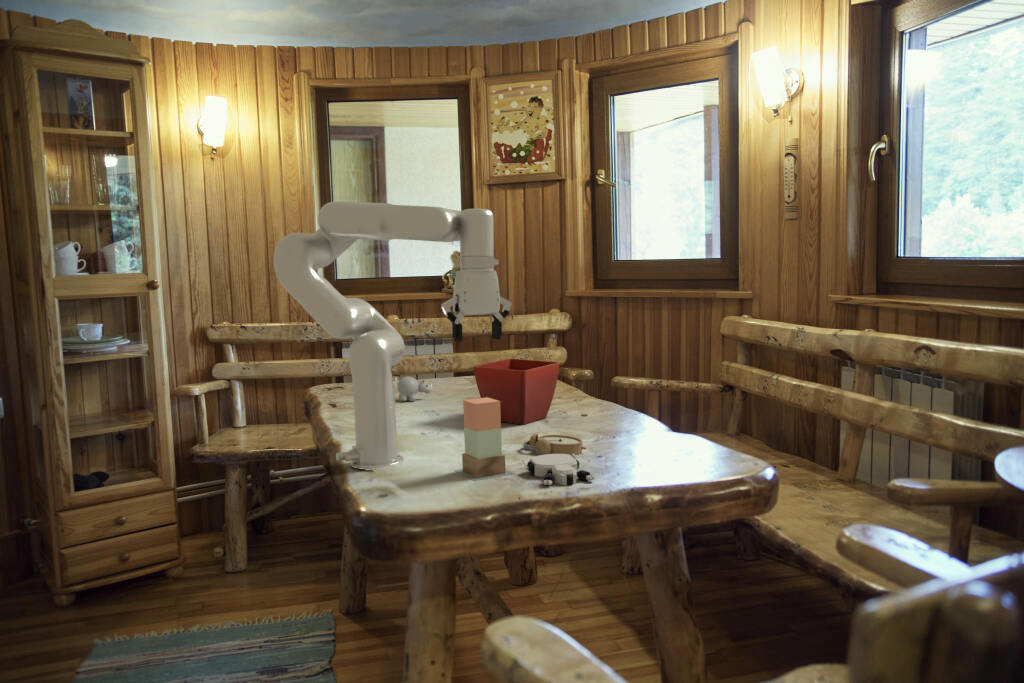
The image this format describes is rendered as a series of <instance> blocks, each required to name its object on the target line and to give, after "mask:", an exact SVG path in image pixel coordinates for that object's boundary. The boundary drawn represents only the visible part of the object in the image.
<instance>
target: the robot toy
mask: <svg viewBox="0 0 1024 683" xmlns="http://www.w3.org/2000/svg"><path fill="white" fill-rule="evenodd" d="M572 456H573V457H572ZM572 456H571V455H568V454H546V455H541V454H538V455H536V456H533V457H531V458H530V459H529V461H528V462H527V464H526V462H525V460H524V458H521V461H522V462H523V465H524V466H525V469H526V471H528V472H530V474H531V475H533V476H535V477H536V478H544V479H543V484H544V486H545V485H546V486H552V485H553V484H554V483H555V484H559V485H561V486H567V485H568V486H572V485H576V484H577V482H578V481H577V480H581V481H583V482H588V481H593V480H594V481H595V478H596V477H595V476H594V475H593V474H591V473H590V472H589V471H586V470H584V469H582V470H581V469H580V470H579V468H580V465H581V462H580V460H578V458H577V456H574V454H573V453H572Z"/></svg>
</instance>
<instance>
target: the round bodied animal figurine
mask: <svg viewBox="0 0 1024 683" xmlns="http://www.w3.org/2000/svg"><path fill="white" fill-rule="evenodd" d="M396 385H397V391H398V400H399V402H407V401H409V402H415V401H416V400H417V397H416V394H417V393H418V392H419V393H425V394H431V392H432V388H433V384H432V383H430V384H428V383H427V381H426V380H425V378H422V379H421V380H419V381H417V379H416V378H414V377H413V376H404V377H402V378H401V379H400V380H399V382H397V384H396Z"/></svg>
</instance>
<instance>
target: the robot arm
mask: <svg viewBox="0 0 1024 683" xmlns="http://www.w3.org/2000/svg"><path fill="white" fill-rule="evenodd" d="M494 222H495V221H494V214H493V212H492V210H490V209H487V208H467V209H463V210H457V209H456V210H455V209H449V208H447V207H446V208H445V207H439V206H429V205H428V206H427V205H425V206H423V205H406V204H404V205H402V204H392V203H386V202H385V203H384V202H367V201H365V202H364V201H363V202H362V201H346V200H345V201H344V200H343V201H342V200H340V201H339V200H337V201H330V202H327V203H326V204H324V205H322V207H321V208H320V210H319V211H318V215H317V224H318V226H319V228H318V229H317V230H316V231H315V232H313V233H306V232H296V233H294V232H293V233H290V234H287V235H286V236H284V237H282V238H281V239H280V240H279V242H278V243H277V244H276V246H275V249H274V253H273V268H274V272H275V275H276V277H277V280H278V281H279V283H280V284H281V286H282V288H283V289H285V290H286V292H287V293H288V294H289V295H290V296H291V297H292V298H293V299H294V300H295V301H296V302H297V303H298V304H299V305H300V306H301V307H302V308H303V309H304V310H305V311H306V313H307V314H308V315H309V316H310V317H311V318H312V319H313V320H314V321H315V322H316V323H317V324H318V325H319V326H320V327H321V328H322V329H323V330H324V331H325V333H326V334H328V335H329V336H330V337H332V338H334V339H337V340H346V339H352V340H353V341H352V342H351V345H350V346H349V350H348V364H349V369H350V373H351V379H352V380H351V381H352V388H353V390H352V391H353V392H352V393H353V408H354V424H355V425H354V426H355V427H354V429H355V445H352V447H351V448H352V449H348V451H340V452H336V453H335V459H336V461H337V462H339V461H345V462H350V463H349V466H350V465H351V466H353V467H356V468H363V469H371V468H382V467H390V466H393V465H397V464H400V463H401V462H404V461H405V458H404V457H403V455H400V454H398V444H397V423H396V422H397V420H396V417H397V415H396V398H395V396H396V395H395V394H396V392H395V384H394V378H393V373H392V369H391V367H393V366H396V365H397V364H399V362H401V360H402V359H403V358H404V355H405V351H406V345H405V341H404V339H403V337H402V335H401V334H400V333H399V331H398V330H396V328H395V327H394V326H393V325H391V324H390V322H389V321H388V320H387V319H386V318H385V317H384V316H382V315H381V313H380V312H379V311H378V310H377V309H376V308H375V307H374V306H373V305H372V304H370V303H369V302H367V301H366V300H364V299H361V298H360V297H359V298H358V297H345V296H344V295H343V294H341V293H340V292H339V290H338V289H337V288H335V287H334V286H333V285H332V284H331V283H330V282H329V281H328V280H327V278H325V277H324V276H323V275H321V274H320V273H318V272H317V271H316V270H318V269H323V268H326V267H328V266H329V265H331V264H332V263H333V262H334V261H336V260H337V259H338V258H339V257H340V256H341V255H342V254H343V253H345V252H346V251H347V250H349V248H351V246H352V245H354V244H355V242H356V241H357V240H368V241H384V242H386V241H387V242H389V241H391V240H406V241H407V240H408V241H422V242H423V241H424V242H437V243H438V242H439V243H440V242H441V243H453V242H458V241H459V257H460V258H459V259H460V260H459V261H460V263H459V266H460V267H459V268H460V269H459V270H456V271H455V272H456V274H455V276H454V277H455V279H454V283H453V284H454V285H453V294H452V297H451V298H449V299H448V300H446V301H445V302H442V304H441V303H440V304H441V305H440V307H441V309H442V312H443V314H444V316H445V318H447V320H449V322H450V323H451V326H452V329H451V330H452V332H451V333H452V338H453V341H454V342H456V343H457V342H458V343H461V342H462V341H463V324H462V323H461V322H462V320H463V319H464V317H465V316H482V315H483V316H484V315H489V316H491V318H492V320H493V321H491V339H493V340H501V339H502V338H501V336H502V334H503V331H502V330H503V329H502V328H503V327H502V326H503V322H504V321H505V318H506V317H507V316H508V315H509V313H510V312H509V311H510V310H511V307H512V305H513V303H512V302H511V301H510V300H508V299H506V298H504V297H503V296H501V295H500V292H501V291H500V285H499V278H498V274H497V270H495V269H494V268H495V266H498V265H499V262H500V261H499V259H496V258H495V256H494V251H495V250H494V246H495V245H494V227H495V226H494ZM501 305H502V309H501V310H500V308H501V307H500V306H501ZM451 307H452V311H453V312H454V313H453V312H452V311H451ZM351 466H350V467H351Z"/></svg>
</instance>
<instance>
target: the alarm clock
mask: <svg viewBox="0 0 1024 683" xmlns="http://www.w3.org/2000/svg"><path fill="white" fill-rule="evenodd" d="M583 442H584V440H582V438H579V437H575V436H570V435H564V434H563V435H562V434H546V435H545V434H544V435H540V436H539V434H538V433H533V434H532V435H531V436H530V438H529V440H527V441H524V442H523V448H524V449H525V450H529V451H534V452H535V454H538V455H546V454H568V455H571V456H572V453H573V454H574V456H575V455H578V456H580V455H582V454H581V453H583V450H587V449H588V448H587V447H586V446H583ZM579 454H580V455H579ZM575 457H576V456H575Z"/></svg>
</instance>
